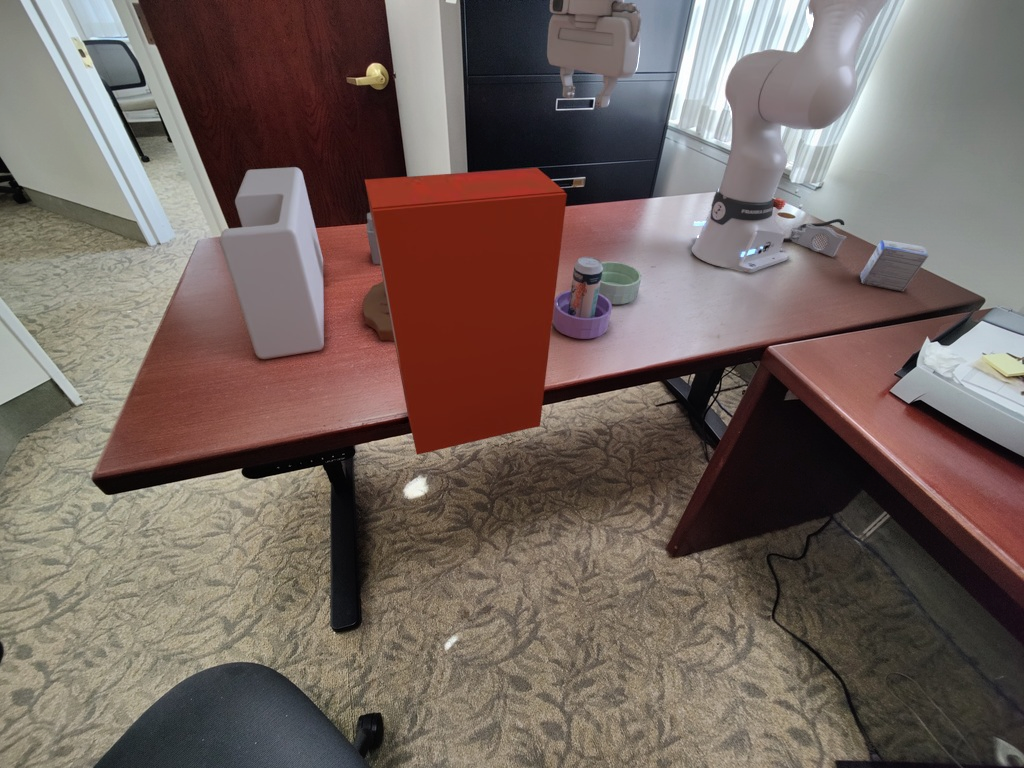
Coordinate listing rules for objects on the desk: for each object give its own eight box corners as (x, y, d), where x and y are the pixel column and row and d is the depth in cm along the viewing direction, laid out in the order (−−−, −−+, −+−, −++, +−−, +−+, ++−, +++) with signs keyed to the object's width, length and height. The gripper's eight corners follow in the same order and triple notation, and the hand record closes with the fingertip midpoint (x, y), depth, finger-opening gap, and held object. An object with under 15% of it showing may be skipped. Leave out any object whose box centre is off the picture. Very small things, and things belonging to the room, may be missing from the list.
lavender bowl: (591, 306, 86) (594, 286, 83) (617, 335, 79) (622, 314, 76) (543, 314, 83) (545, 294, 80) (566, 345, 76) (569, 323, 73)
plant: (356, 294, 86) (344, 239, 79) (451, 277, 93) (448, 225, 85) (375, 352, 73) (361, 292, 65) (484, 328, 79) (484, 271, 72)
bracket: (287, 320, 97) (244, 170, 85) (336, 313, 99) (301, 167, 88) (256, 361, 70) (188, 150, 58) (325, 350, 72) (273, 146, 61)
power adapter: (386, 252, 101) (377, 199, 93) (387, 263, 97) (378, 208, 89) (372, 253, 100) (362, 199, 92) (373, 264, 96) (362, 209, 88)
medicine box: (899, 283, 97) (925, 246, 91) (903, 292, 94) (930, 254, 88) (858, 275, 99) (881, 238, 94) (861, 284, 96) (884, 246, 90)
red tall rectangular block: (540, 428, 61) (567, 192, 40) (417, 457, 57) (372, 208, 35) (521, 391, 67) (535, 166, 45) (407, 415, 62) (364, 178, 41)
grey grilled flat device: (786, 240, 113) (796, 217, 109) (789, 238, 114) (800, 216, 110) (832, 258, 106) (845, 234, 102) (836, 256, 107) (849, 232, 103)
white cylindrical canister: (564, 315, 82) (572, 255, 74) (589, 315, 83) (600, 255, 75) (569, 330, 79) (578, 268, 71) (595, 329, 79) (606, 268, 71)
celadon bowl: (620, 278, 95) (624, 258, 92) (646, 301, 88) (651, 281, 85) (578, 284, 92) (580, 265, 89) (601, 309, 85) (605, 289, 82)
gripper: (658, 3, 65) (637, 111, 74) (572, -1, 78) (564, 92, 87) (627, 2, 63) (610, 114, 72) (544, -2, 75) (538, 94, 84)
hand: (584, 101), depth 79 cm, fingers open, 8 cm apart
